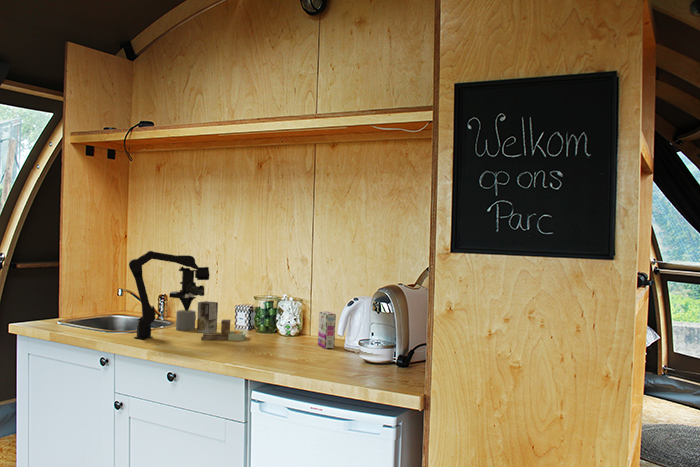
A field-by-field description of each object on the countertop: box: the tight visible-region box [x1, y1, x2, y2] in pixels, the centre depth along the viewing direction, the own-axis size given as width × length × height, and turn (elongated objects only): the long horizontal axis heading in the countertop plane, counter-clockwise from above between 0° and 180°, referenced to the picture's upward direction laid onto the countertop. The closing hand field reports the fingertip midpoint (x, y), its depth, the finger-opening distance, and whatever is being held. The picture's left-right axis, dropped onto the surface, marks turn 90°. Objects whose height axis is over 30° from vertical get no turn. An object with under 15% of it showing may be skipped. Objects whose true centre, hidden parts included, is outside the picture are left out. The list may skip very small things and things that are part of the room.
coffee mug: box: [175, 309, 197, 332], centre depth 290 cm, size 13×10×10 cm
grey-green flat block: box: [227, 330, 246, 341], centre depth 266 cm, size 8×9×3 cm
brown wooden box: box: [220, 319, 231, 337], centre depth 265 cm, size 4×6×9 cm
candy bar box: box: [317, 311, 337, 350], centre depth 253 cm, size 11×5×16 cm, turn 22°
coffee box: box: [196, 300, 219, 334], centre depth 282 cm, size 9×6×16 cm
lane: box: [200, 333, 229, 341], centre depth 264 cm, size 13×9×2 cm
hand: (186, 310), depth 267 cm, fingers closed
